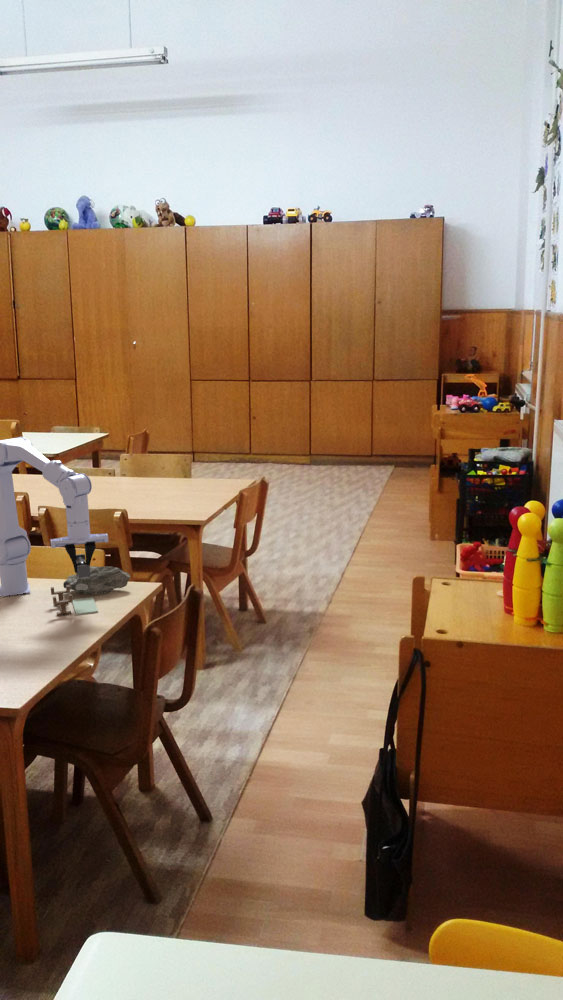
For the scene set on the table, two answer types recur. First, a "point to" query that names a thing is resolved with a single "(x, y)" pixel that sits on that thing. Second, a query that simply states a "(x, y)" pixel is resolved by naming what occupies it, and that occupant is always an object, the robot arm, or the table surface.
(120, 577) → the rock
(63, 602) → the rail stand
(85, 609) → the mat
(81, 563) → the column with square cap
